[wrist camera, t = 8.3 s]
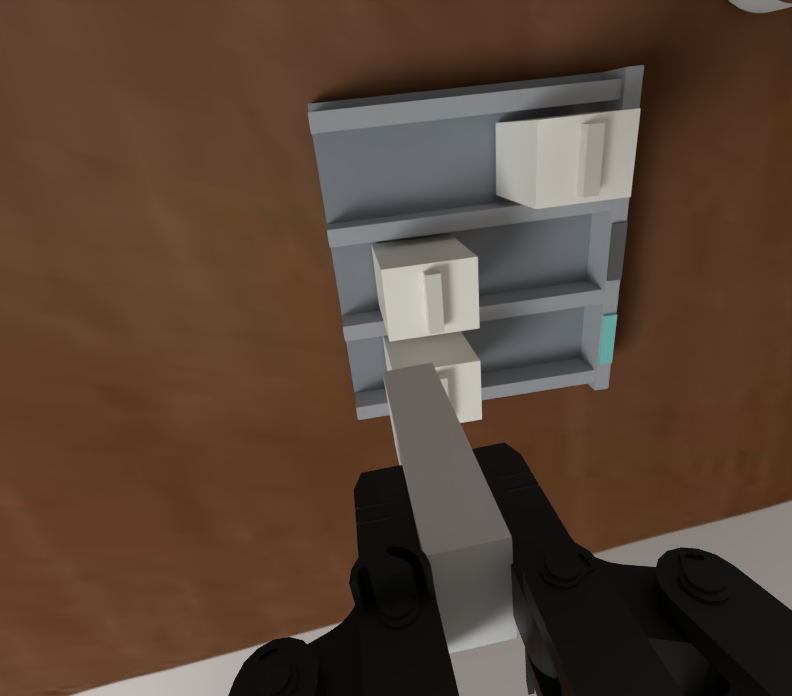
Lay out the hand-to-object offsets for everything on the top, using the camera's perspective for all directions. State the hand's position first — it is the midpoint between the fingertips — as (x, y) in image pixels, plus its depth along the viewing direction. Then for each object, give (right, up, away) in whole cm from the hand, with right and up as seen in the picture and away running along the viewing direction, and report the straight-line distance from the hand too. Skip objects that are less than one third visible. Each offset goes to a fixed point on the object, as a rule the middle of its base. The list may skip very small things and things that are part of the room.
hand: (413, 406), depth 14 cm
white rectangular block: (+8, +13, +14) cm, 21 cm away
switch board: (+4, +8, +17) cm, 20 cm away
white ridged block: (+1, +7, +16) cm, 17 cm away
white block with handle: (+1, +1, +18) cm, 18 cm away
